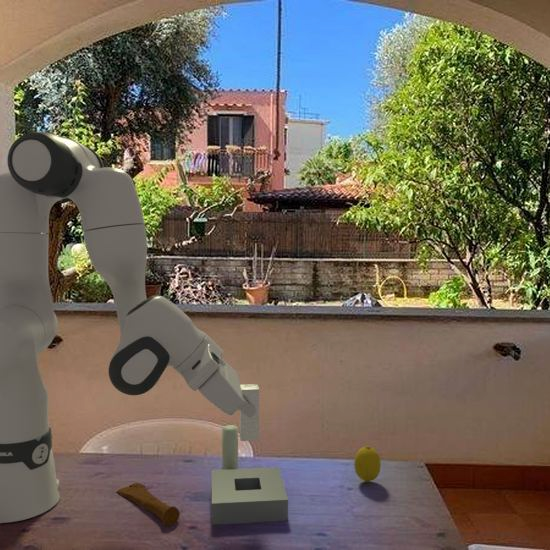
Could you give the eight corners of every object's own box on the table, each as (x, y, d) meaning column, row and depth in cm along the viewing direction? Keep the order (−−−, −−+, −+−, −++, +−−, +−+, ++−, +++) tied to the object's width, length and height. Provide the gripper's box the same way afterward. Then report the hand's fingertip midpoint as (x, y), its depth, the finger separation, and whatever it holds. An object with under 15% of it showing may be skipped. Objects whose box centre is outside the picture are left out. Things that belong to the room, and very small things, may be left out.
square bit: (240, 441, 103) (240, 389, 102) (239, 434, 106) (239, 384, 106) (258, 440, 103) (259, 389, 103) (257, 433, 107) (257, 384, 106)
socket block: (211, 524, 98) (211, 503, 98) (211, 488, 112) (211, 469, 112) (287, 520, 100) (288, 499, 100) (278, 485, 114) (278, 467, 113)
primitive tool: (114, 493, 111) (114, 476, 111) (138, 485, 114) (138, 468, 114) (164, 531, 97) (164, 512, 97) (189, 520, 100) (189, 502, 100)
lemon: (383, 479, 117) (384, 444, 116) (375, 490, 112) (376, 453, 111) (358, 474, 119) (359, 439, 119) (350, 484, 114) (351, 448, 114)
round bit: (219, 473, 119) (219, 429, 118) (227, 467, 122) (227, 424, 122) (233, 476, 118) (233, 431, 117) (240, 470, 121) (240, 426, 120)
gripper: (191, 360, 113) (238, 404, 115) (187, 388, 93) (244, 441, 95) (212, 339, 113) (259, 383, 115) (213, 362, 93) (269, 415, 95)
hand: (252, 410), depth 105 cm, fingers closed on square bit, 3 cm apart
